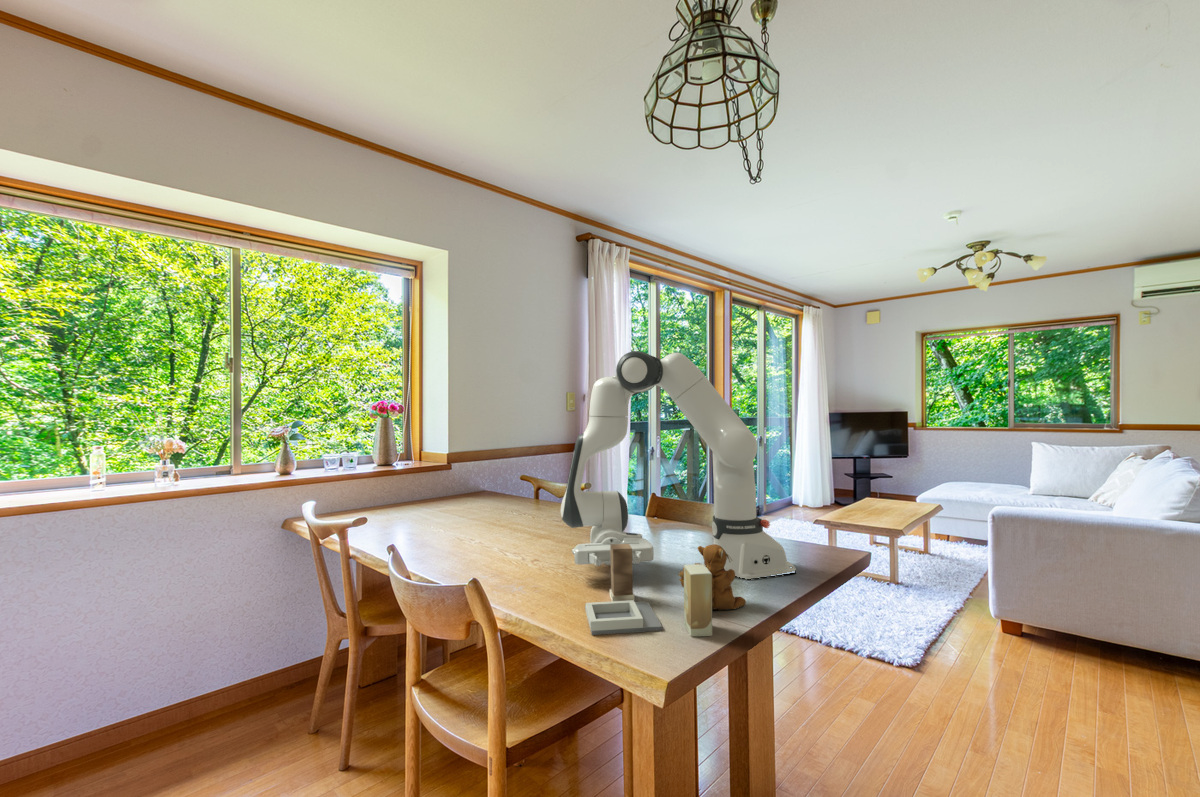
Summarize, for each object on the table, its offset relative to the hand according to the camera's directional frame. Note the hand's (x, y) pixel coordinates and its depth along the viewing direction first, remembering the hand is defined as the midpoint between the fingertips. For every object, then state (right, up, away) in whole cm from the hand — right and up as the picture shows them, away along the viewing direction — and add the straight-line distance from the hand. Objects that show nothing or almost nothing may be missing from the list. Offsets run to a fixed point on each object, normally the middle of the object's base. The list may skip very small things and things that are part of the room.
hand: (617, 561), depth 131 cm
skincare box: (+15, -7, -24) cm, 29 cm away
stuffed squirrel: (+20, -7, -11) cm, 24 cm away
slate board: (0, -7, -18) cm, 19 cm away
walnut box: (+1, -7, -6) cm, 9 cm away
